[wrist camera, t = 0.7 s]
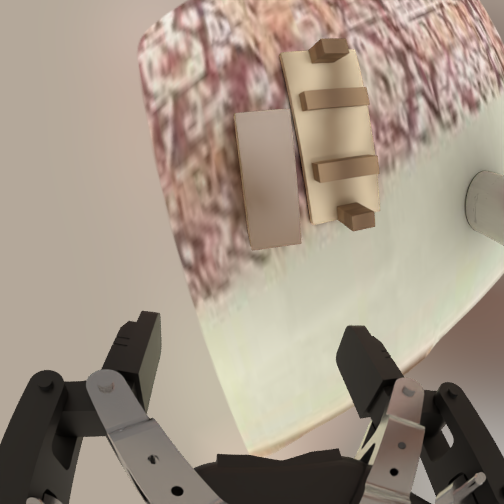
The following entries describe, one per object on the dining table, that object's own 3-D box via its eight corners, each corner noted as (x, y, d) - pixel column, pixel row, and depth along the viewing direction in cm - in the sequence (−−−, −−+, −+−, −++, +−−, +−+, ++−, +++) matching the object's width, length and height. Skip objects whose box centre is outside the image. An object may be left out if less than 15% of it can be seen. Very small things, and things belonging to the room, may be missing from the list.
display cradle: (351, 51, 24) (372, 39, 19) (375, 208, 31) (398, 221, 26) (279, 55, 24) (289, 40, 19) (310, 222, 31) (325, 237, 26)
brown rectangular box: (279, 113, 26) (290, 107, 22) (290, 227, 31) (301, 244, 26) (232, 117, 26) (234, 112, 22) (247, 233, 31) (251, 251, 26)
